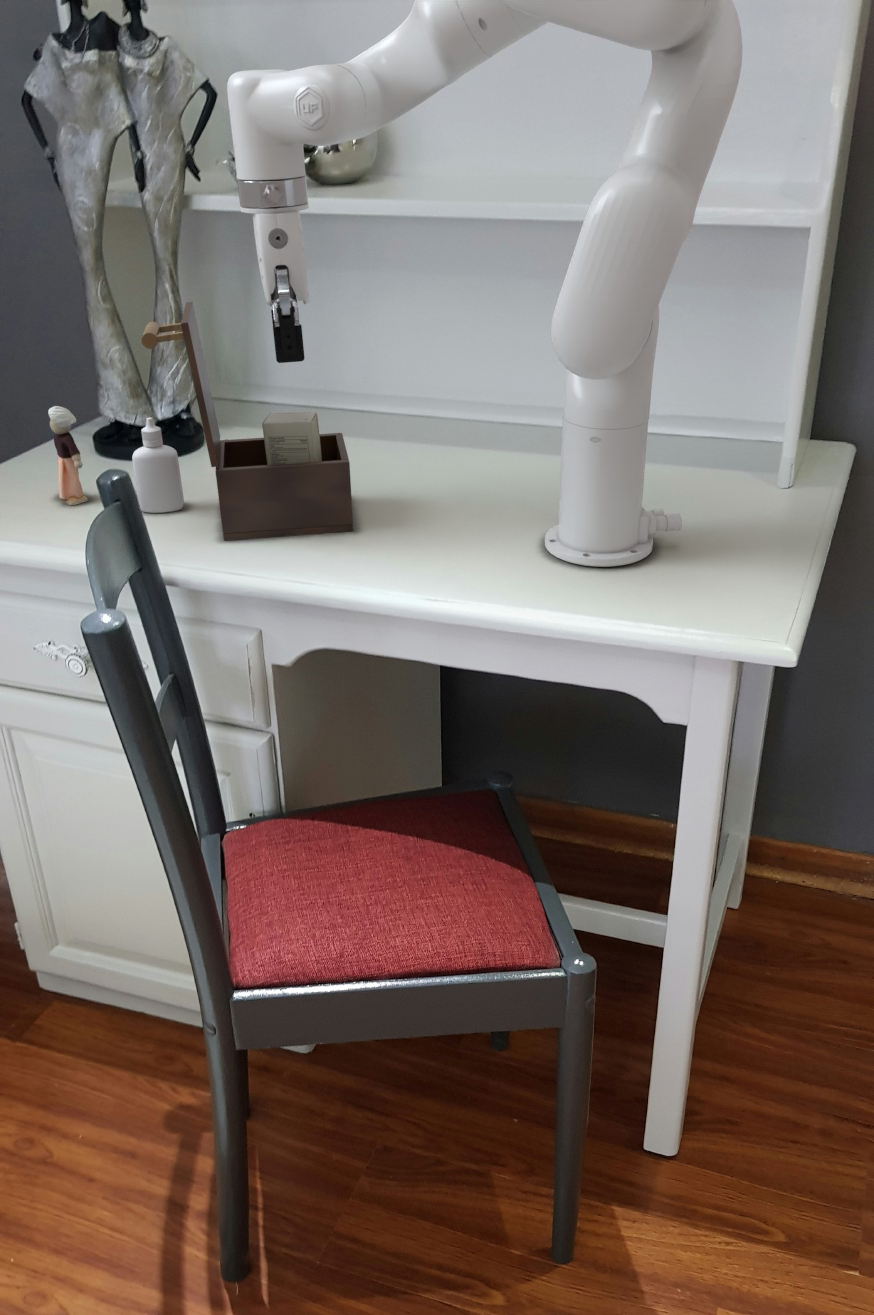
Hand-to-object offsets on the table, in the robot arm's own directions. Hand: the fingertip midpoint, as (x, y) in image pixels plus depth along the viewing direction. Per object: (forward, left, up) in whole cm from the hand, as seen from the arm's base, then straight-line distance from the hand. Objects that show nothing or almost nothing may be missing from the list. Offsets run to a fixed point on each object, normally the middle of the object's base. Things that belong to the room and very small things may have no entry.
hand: (289, 351), depth 131 cm
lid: (+10, 0, -3) cm, 11 cm away
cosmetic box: (0, 0, -20) cm, 20 cm away
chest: (+2, 0, -21) cm, 21 cm away
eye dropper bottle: (+18, -7, -21) cm, 29 cm away
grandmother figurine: (+30, -12, -21) cm, 38 cm away
